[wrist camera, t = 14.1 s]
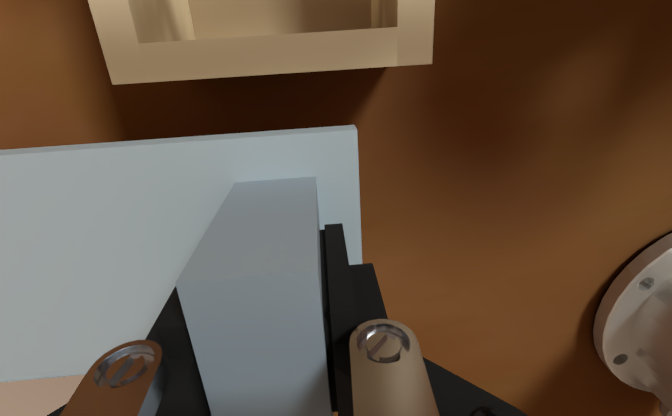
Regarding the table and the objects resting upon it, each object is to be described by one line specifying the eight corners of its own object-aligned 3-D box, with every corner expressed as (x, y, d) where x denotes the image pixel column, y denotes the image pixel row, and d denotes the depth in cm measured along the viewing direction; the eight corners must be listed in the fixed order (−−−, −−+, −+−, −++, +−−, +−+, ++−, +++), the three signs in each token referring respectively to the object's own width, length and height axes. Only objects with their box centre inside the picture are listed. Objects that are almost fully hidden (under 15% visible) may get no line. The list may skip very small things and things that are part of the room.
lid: (354, 124, 11) (394, 193, 6) (362, 334, 14) (393, 507, 9) (-188, 163, 11) (-710, 279, 5) (-55, 371, 14) (-294, 578, 8)
